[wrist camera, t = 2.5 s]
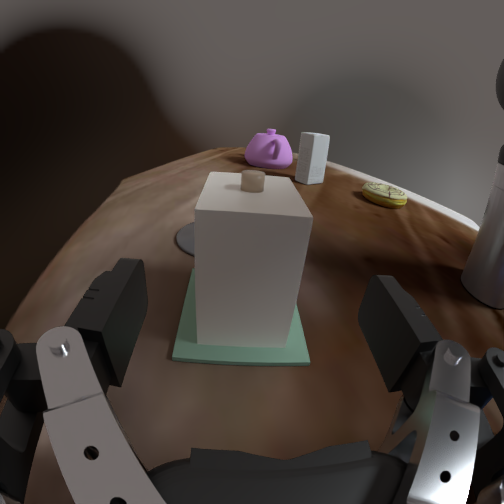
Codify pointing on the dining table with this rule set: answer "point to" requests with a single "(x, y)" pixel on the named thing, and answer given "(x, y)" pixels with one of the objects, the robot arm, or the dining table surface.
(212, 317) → the ceramic cover
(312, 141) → the skincare box
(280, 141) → the teapot
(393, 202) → the decorated donut
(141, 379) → the dining table surface
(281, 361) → the felt mat
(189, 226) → the slate coaster
